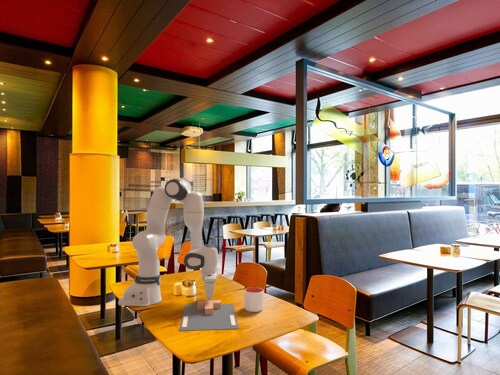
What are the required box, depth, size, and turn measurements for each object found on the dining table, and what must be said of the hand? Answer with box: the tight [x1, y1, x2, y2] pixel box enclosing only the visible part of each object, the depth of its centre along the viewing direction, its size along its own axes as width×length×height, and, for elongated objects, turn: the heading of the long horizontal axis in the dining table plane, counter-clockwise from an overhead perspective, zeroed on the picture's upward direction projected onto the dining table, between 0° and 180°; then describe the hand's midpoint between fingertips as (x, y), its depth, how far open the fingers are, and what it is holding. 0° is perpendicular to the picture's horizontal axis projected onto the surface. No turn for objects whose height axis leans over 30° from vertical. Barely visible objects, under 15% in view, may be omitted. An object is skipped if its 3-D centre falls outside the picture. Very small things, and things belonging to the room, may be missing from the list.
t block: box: [196, 299, 222, 315], centre depth 163 cm, size 12×12×3 cm
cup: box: [243, 287, 265, 313], centre depth 166 cm, size 10×10×10 cm
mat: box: [178, 303, 240, 332], centre depth 156 cm, size 26×32×1 cm
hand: (209, 300), depth 173 cm, fingers closed
